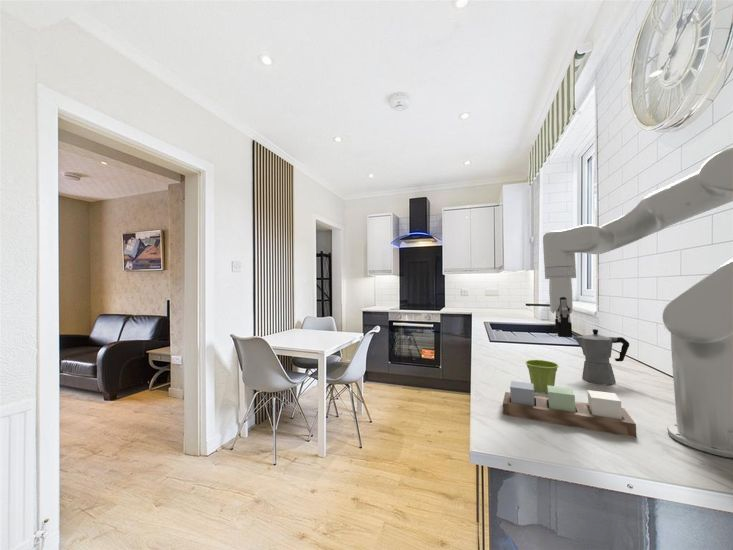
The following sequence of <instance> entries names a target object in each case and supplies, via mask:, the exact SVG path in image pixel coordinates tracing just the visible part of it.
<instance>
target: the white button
mask: <svg viewBox="0 0 733 550" xmlns="http://www.w3.org/2000/svg"><path fill="white" fill-rule="evenodd" d="M587 403H588V406H589V411H590V414H591V415H596V416H603V417H610V418H616V419H622V408H623V407H622V401H621V399H620V398H619V397H618V395H617V394H616V392H615V393H613V392H605V391H600V390H599V391H597V390H590V389H587Z"/></svg>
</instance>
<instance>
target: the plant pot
mask: <svg viewBox="0 0 733 550" xmlns="http://www.w3.org/2000/svg"><path fill="white" fill-rule="evenodd" d="M524 362H525V364H526V367H527V369H528V374H529V378H530V379H529V380H530V383H532V384H533V385H534V391H536V392H537V393H542V394H543V393H544V394H548V388H547V385H549V386H556V385H555V383H556V375H557V371H558V368H559V367H560V366H559V364H558V363H556V362H553V361H549V360H545V359H544V360H543V359H528V360H526V361H524Z"/></svg>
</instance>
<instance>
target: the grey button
mask: <svg viewBox="0 0 733 550" xmlns="http://www.w3.org/2000/svg"><path fill="white" fill-rule="evenodd" d="M510 381H511V382H510V385H509V388H510V389H509V391H510V392H509V393H511V403H518V404H524V405H531V406H535V404H534V396H535V390H534V385H533V384H532V383H531V382H521V381H516V380H510Z"/></svg>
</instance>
